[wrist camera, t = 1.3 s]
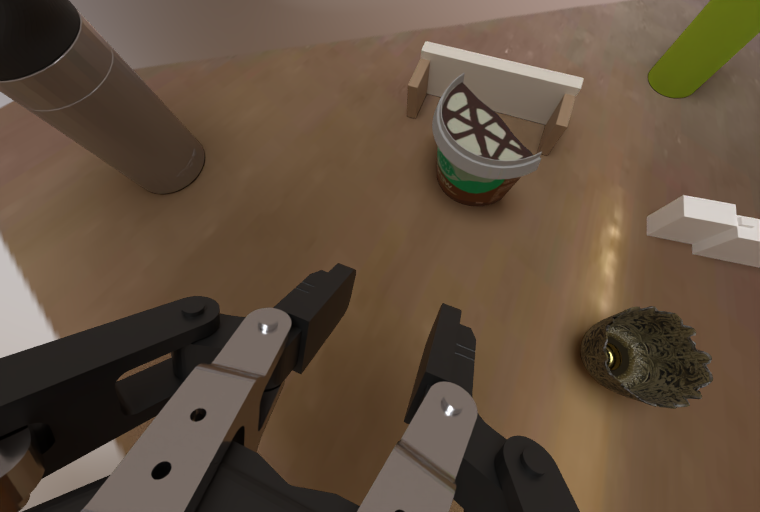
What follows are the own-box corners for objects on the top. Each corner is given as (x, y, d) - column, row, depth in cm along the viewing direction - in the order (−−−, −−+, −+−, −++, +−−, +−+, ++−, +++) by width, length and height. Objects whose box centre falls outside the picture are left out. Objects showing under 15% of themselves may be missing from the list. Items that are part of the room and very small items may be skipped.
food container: (406, 160, 40) (409, 97, 30) (446, 137, 41) (460, 69, 31) (466, 235, 36) (489, 191, 27) (508, 208, 37) (546, 156, 28)
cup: (546, 327, 33) (590, 317, 25) (614, 311, 33) (679, 296, 25) (576, 405, 30) (635, 420, 23) (650, 386, 30) (734, 395, 23)
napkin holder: (792, 258, 34) (868, 239, 28) (724, 323, 32) (789, 316, 27) (671, 165, 38) (716, 132, 33) (606, 218, 36) (641, 193, 31)
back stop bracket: (406, 116, 42) (408, 78, 36) (422, 82, 44) (425, 41, 38) (546, 155, 39) (572, 120, 33) (557, 117, 41) (583, 78, 35)
